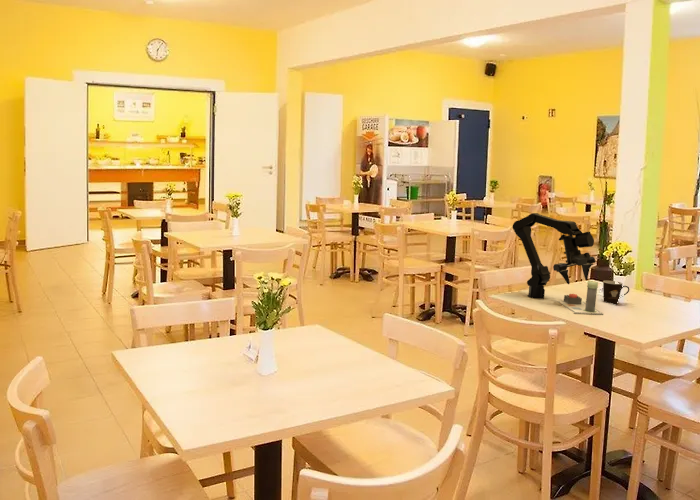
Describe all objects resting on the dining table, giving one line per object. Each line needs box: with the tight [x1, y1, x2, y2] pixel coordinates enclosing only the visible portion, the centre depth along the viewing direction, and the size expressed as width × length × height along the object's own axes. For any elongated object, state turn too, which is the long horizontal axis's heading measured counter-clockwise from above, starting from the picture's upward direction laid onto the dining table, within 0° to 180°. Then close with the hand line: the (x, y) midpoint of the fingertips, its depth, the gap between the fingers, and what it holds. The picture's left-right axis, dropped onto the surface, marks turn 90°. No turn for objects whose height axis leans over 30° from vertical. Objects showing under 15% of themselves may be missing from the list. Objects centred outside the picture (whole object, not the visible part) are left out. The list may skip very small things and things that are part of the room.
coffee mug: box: [602, 280, 630, 305], centre depth 337 cm, size 12×9×10 cm
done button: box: [568, 293, 578, 298], centre depth 331 cm, size 4×4×2 cm
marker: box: [585, 280, 599, 312], centre depth 315 cm, size 4×4×13 cm
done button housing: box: [563, 294, 583, 304], centre depth 331 cm, size 6×6×3 cm
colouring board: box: [556, 300, 604, 316], centre depth 323 cm, size 13×23×1 cm, turn 4°
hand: (577, 282), depth 326 cm, fingers open, 9 cm apart
